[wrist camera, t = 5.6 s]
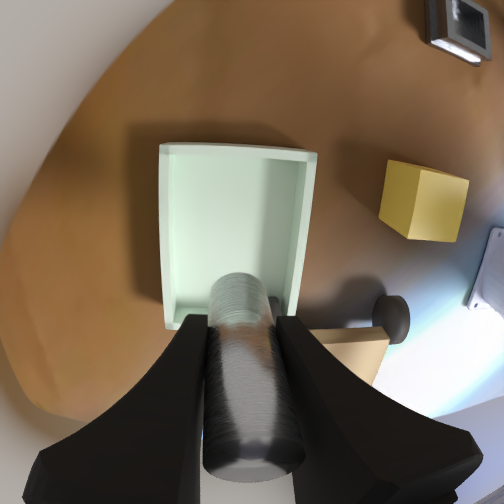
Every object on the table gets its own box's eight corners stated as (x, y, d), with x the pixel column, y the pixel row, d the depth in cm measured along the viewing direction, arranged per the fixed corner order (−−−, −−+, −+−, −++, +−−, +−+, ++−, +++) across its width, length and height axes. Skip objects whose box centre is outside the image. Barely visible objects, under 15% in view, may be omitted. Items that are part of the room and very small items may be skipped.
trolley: (393, 286, 22) (436, 336, 16) (350, 405, 27) (369, 456, 21) (256, 286, 21) (269, 348, 15) (244, 413, 26) (250, 471, 20)
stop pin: (273, 277, 12) (320, 437, 5) (259, 324, 13) (287, 482, 6) (214, 267, 11) (209, 433, 5) (205, 316, 12) (198, 479, 6)
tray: (305, 149, 18) (317, 153, 15) (285, 310, 22) (292, 331, 20) (168, 142, 17) (159, 144, 15) (170, 307, 21) (165, 329, 19)
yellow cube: (433, 168, 19) (469, 180, 15) (423, 222, 20) (455, 242, 17) (387, 159, 18) (420, 169, 15) (377, 217, 20) (407, 239, 16)
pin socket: (472, 13, 14) (489, 9, 12) (475, 66, 16) (494, 65, 14) (423, -12, 13) (440, -21, 11) (426, 44, 15) (444, 39, 13)
